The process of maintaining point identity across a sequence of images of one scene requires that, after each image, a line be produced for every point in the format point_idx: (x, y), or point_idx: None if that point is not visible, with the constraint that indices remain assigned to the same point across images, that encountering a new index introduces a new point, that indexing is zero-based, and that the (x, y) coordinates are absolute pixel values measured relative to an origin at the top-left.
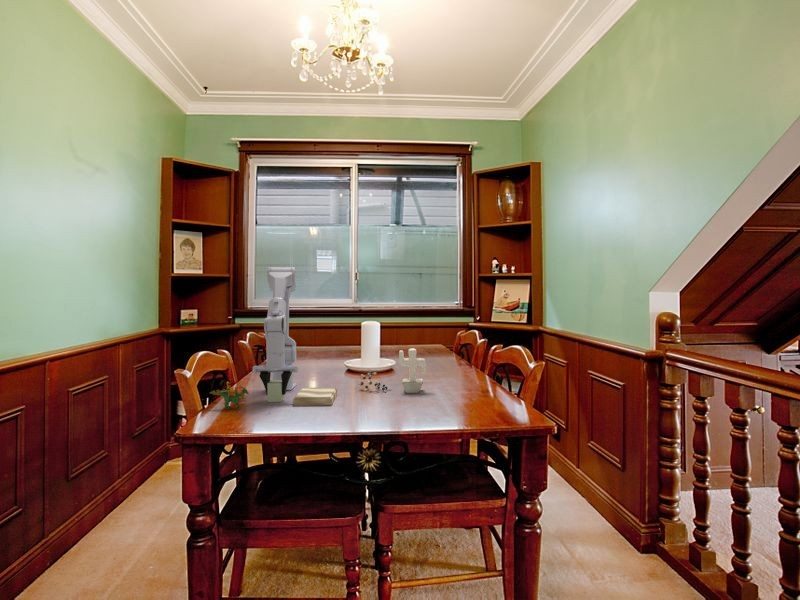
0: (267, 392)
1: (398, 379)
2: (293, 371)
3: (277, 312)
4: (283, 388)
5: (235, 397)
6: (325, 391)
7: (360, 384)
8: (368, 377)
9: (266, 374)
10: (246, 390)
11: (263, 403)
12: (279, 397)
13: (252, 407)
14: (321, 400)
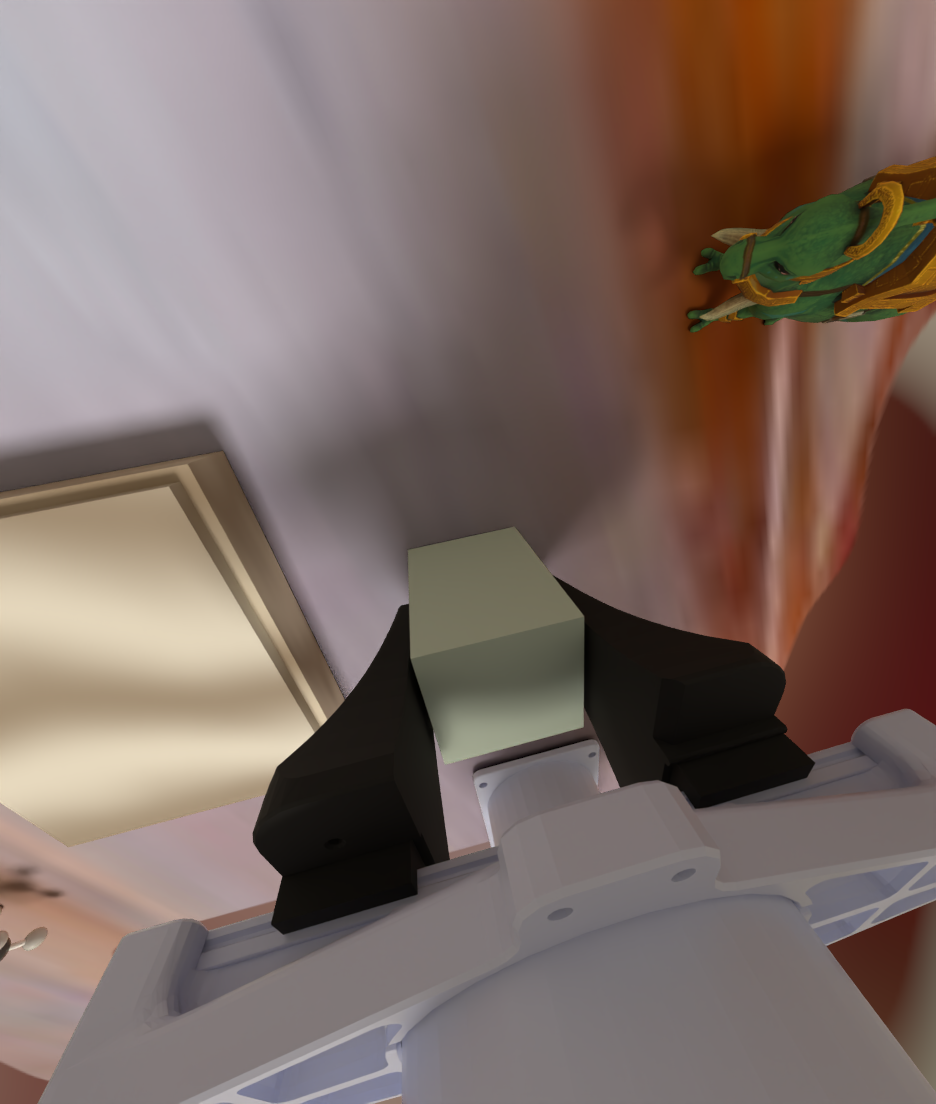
0: (541, 561)
1: (19, 1033)
2: (233, 939)
3: None
4: (396, 636)
5: (849, 194)
6: (32, 746)
7: (28, 940)
8: None
9: (674, 726)
10: (805, 227)
11: (530, 480)
12: (424, 564)
13: (581, 331)
14: None
